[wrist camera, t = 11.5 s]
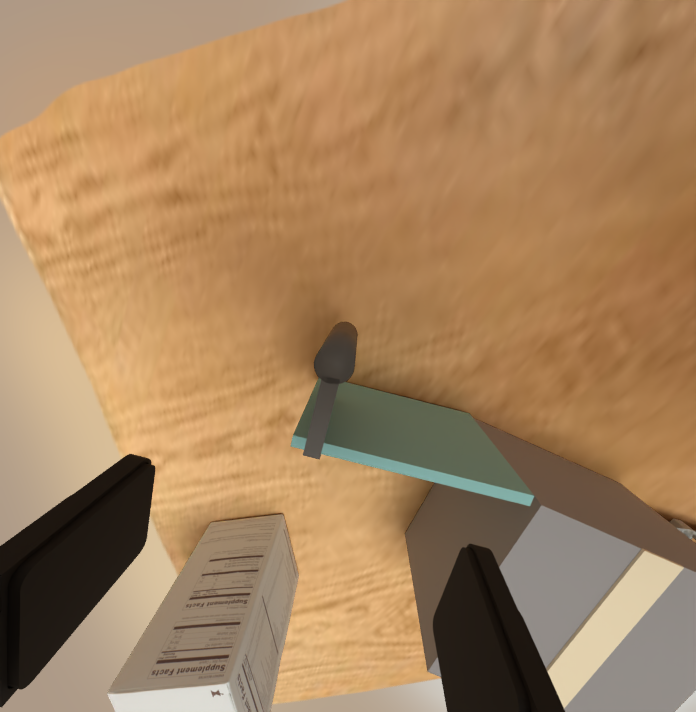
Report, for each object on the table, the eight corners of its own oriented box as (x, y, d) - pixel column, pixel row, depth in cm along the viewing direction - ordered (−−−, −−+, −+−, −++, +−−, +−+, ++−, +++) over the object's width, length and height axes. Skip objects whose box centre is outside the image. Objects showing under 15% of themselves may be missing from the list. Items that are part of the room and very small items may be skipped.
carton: (472, 417, 35) (543, 506, 21) (620, 483, 36) (780, 609, 22) (404, 534, 39) (427, 675, 25) (541, 591, 40) (635, 757, 26)
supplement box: (208, 520, 40) (100, 690, 23) (284, 511, 39) (227, 680, 23) (228, 586, 42) (141, 785, 25) (300, 578, 41) (259, 778, 25)
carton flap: (491, 351, 33) (599, 412, 18) (466, 420, 35) (546, 528, 20) (335, 311, 33) (311, 338, 18) (318, 382, 35) (283, 462, 20)
